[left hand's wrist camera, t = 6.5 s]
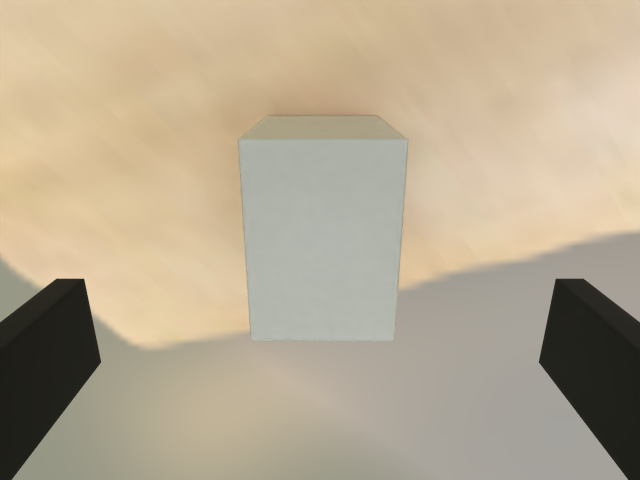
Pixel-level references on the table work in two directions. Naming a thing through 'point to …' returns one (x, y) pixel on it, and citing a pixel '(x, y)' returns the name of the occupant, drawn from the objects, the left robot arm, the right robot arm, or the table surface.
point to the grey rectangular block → (322, 227)
